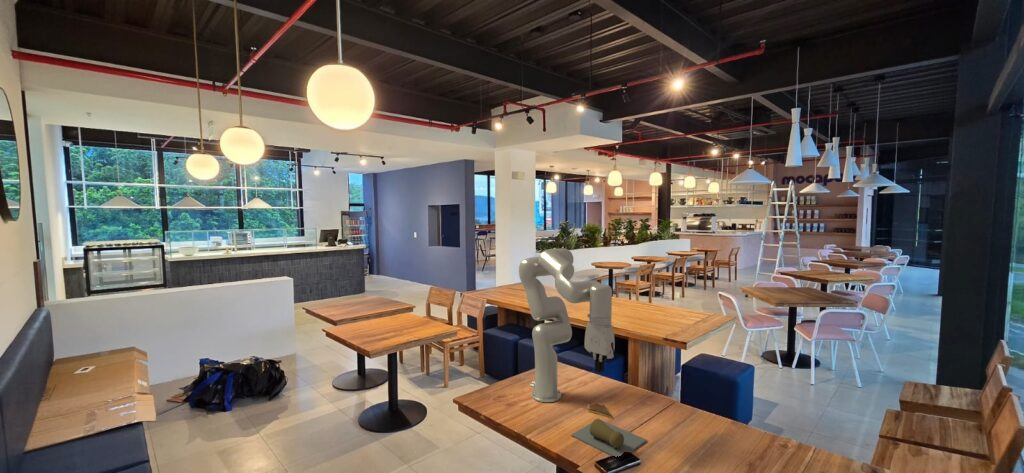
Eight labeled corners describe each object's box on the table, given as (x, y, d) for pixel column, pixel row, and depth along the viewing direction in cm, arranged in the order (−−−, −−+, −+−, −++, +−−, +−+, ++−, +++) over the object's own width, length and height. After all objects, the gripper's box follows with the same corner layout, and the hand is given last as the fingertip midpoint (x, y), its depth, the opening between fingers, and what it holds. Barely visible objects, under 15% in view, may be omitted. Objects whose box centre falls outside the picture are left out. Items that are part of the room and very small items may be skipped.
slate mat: (571, 436, 149) (571, 434, 149) (598, 420, 159) (598, 418, 159) (620, 460, 134) (620, 458, 134) (646, 441, 144) (646, 439, 144)
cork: (588, 424, 145) (613, 439, 136) (600, 415, 148) (625, 429, 139) (590, 439, 146) (615, 455, 137) (602, 430, 150) (627, 445, 141)
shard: (612, 420, 160) (612, 415, 160) (592, 421, 160) (592, 416, 160) (603, 406, 171) (603, 402, 171) (584, 408, 170) (584, 403, 170)
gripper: (576, 317, 151) (576, 367, 152) (612, 327, 139) (611, 380, 141) (589, 313, 156) (589, 362, 157) (624, 322, 144) (623, 374, 146)
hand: (599, 370), depth 149 cm, fingers closed
